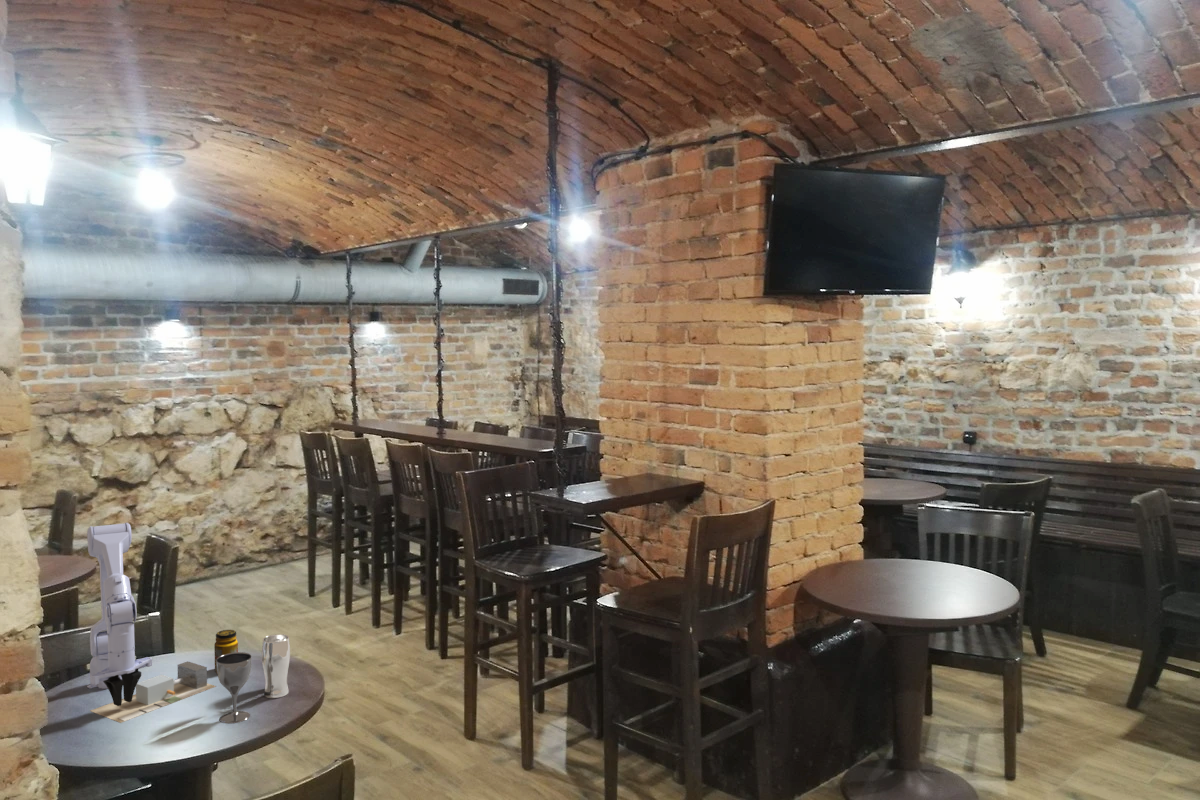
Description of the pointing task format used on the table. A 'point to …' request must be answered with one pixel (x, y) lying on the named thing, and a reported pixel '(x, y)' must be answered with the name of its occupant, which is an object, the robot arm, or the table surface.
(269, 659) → the beer glass
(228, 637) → the condiment
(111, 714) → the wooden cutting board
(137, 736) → the table surface
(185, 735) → the table surface
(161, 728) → the table surface
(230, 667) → the wine glass
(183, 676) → the grey rectangular block
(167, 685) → the light grey block
